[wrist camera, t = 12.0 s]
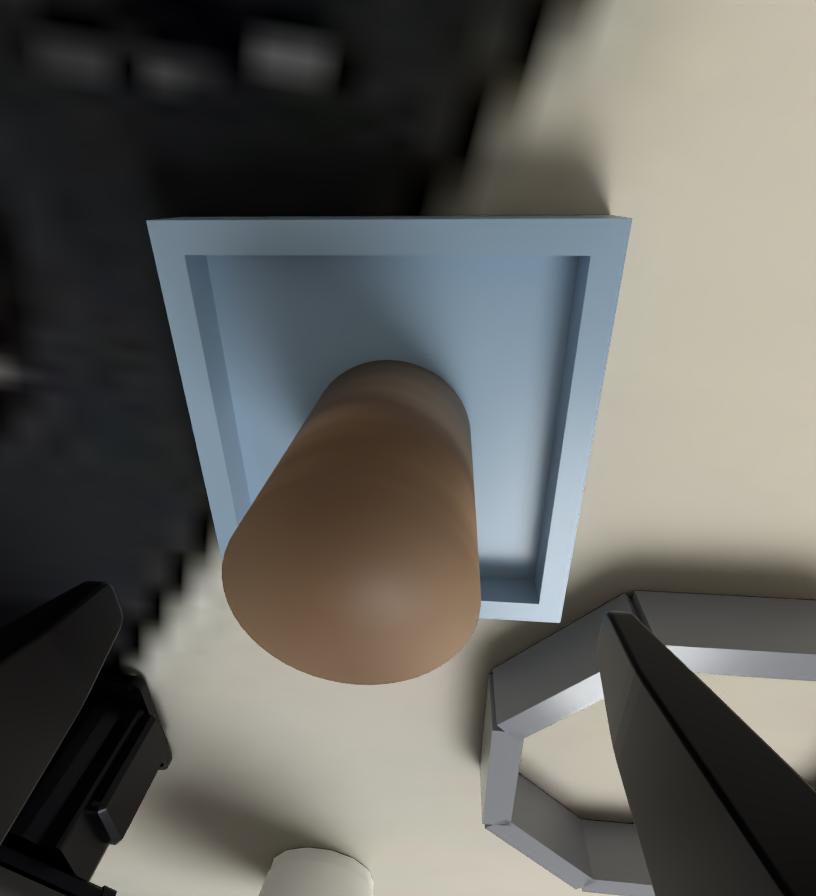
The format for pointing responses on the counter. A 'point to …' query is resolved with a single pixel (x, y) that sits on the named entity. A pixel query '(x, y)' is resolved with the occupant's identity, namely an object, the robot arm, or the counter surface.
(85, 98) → the counter surface
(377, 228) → the tray
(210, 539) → the counter surface
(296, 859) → the foam cup
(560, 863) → the holder ring
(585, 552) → the counter surface
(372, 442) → the walnut cylinder
